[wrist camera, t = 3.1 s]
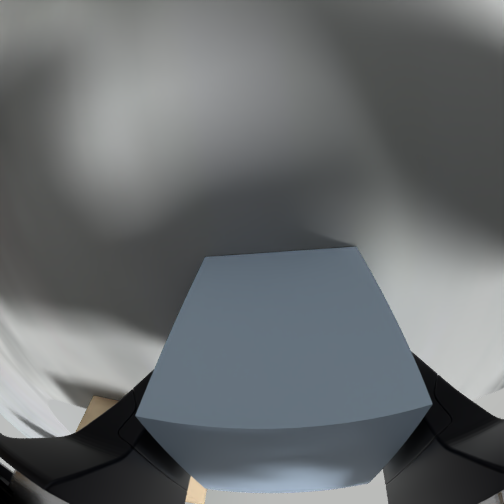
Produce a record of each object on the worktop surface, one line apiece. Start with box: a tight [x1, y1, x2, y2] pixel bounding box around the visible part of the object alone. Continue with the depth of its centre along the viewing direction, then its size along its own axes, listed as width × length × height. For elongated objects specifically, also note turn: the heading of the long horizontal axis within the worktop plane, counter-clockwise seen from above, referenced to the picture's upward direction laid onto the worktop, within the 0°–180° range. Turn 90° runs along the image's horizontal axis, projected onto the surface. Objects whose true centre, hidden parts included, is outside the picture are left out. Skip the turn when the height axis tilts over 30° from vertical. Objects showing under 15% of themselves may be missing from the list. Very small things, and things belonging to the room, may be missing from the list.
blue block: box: [135, 247, 432, 493], centre depth 7 cm, size 5×5×6 cm
